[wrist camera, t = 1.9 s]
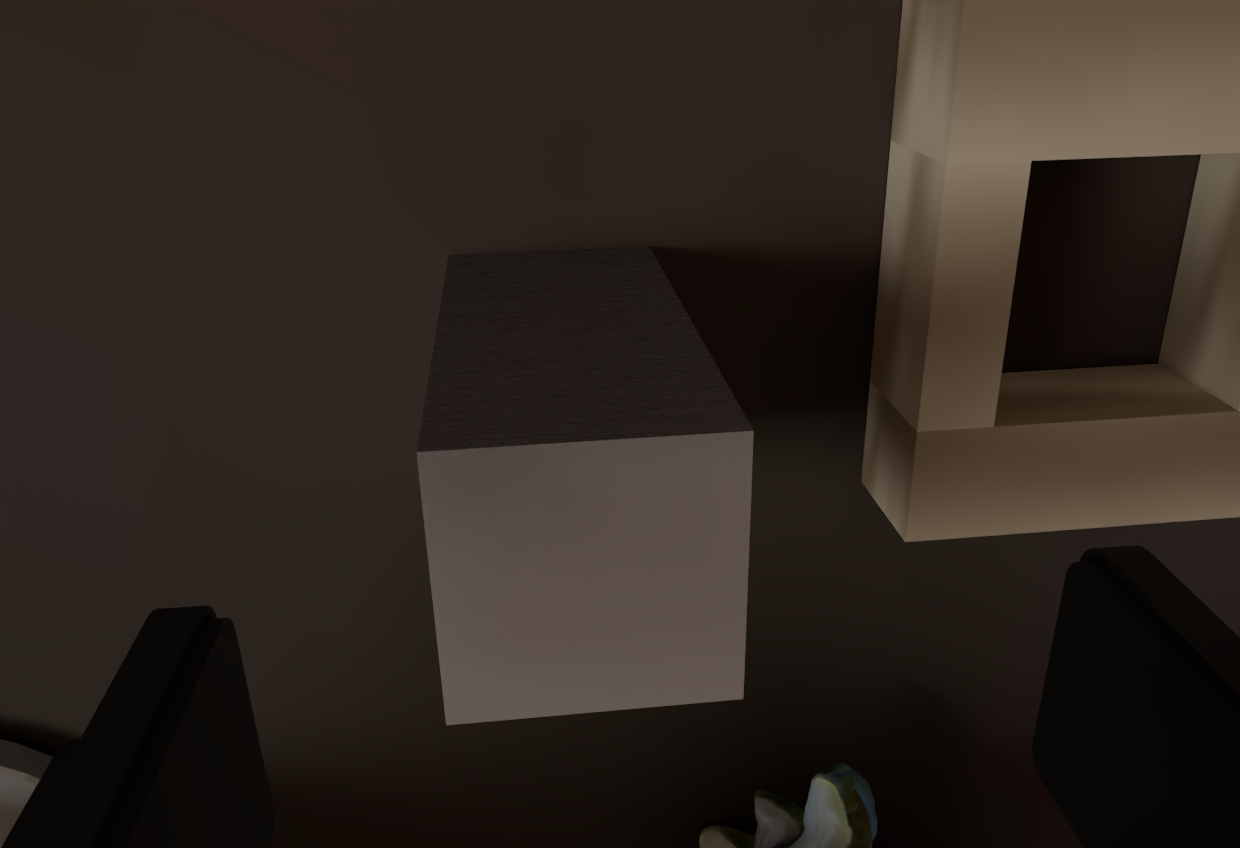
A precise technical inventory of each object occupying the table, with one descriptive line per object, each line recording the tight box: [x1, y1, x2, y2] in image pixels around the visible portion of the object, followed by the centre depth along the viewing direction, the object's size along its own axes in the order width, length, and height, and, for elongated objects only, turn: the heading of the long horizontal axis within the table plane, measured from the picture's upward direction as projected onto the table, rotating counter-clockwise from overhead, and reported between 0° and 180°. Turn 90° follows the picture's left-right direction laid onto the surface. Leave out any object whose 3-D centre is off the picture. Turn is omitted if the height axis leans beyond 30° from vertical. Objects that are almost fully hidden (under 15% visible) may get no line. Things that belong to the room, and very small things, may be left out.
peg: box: [417, 247, 754, 725], centre depth 19 cm, size 4×4×10 cm
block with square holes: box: [861, 0, 1240, 542], centre depth 20 cm, size 22×9×3 cm, turn 1°
